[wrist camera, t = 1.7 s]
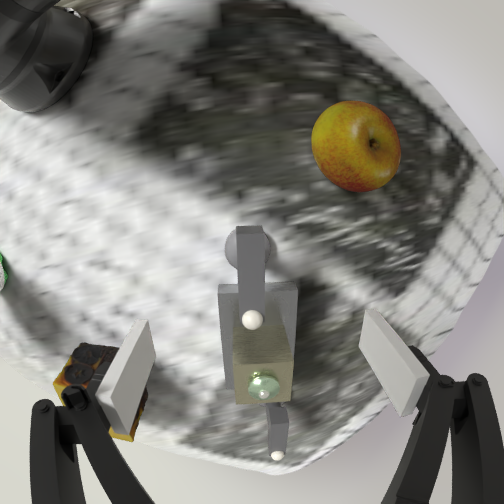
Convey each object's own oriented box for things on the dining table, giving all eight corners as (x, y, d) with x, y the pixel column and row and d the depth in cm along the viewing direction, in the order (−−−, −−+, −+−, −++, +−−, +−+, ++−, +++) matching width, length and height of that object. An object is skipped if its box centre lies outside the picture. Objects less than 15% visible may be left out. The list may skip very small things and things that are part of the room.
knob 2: (254, 375, 39) (259, 431, 29) (289, 372, 39) (302, 427, 29) (255, 411, 41) (259, 463, 31) (286, 409, 41) (295, 460, 31)
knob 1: (223, 213, 31) (217, 238, 21) (269, 211, 32) (284, 236, 22) (227, 284, 34) (223, 334, 24) (269, 283, 34) (282, 332, 24)
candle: (139, 348, 37) (118, 397, 27) (150, 396, 40) (136, 444, 30) (79, 340, 36) (50, 381, 27) (94, 387, 39) (74, 429, 30)
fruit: (390, 166, 31) (429, 171, 23) (330, 203, 32) (358, 216, 24) (352, 95, 28) (384, 79, 20) (288, 129, 29) (304, 119, 21)
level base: (218, 284, 34) (212, 335, 24) (294, 281, 34) (315, 330, 24) (226, 377, 39) (225, 435, 29) (288, 374, 39) (301, 430, 29)
